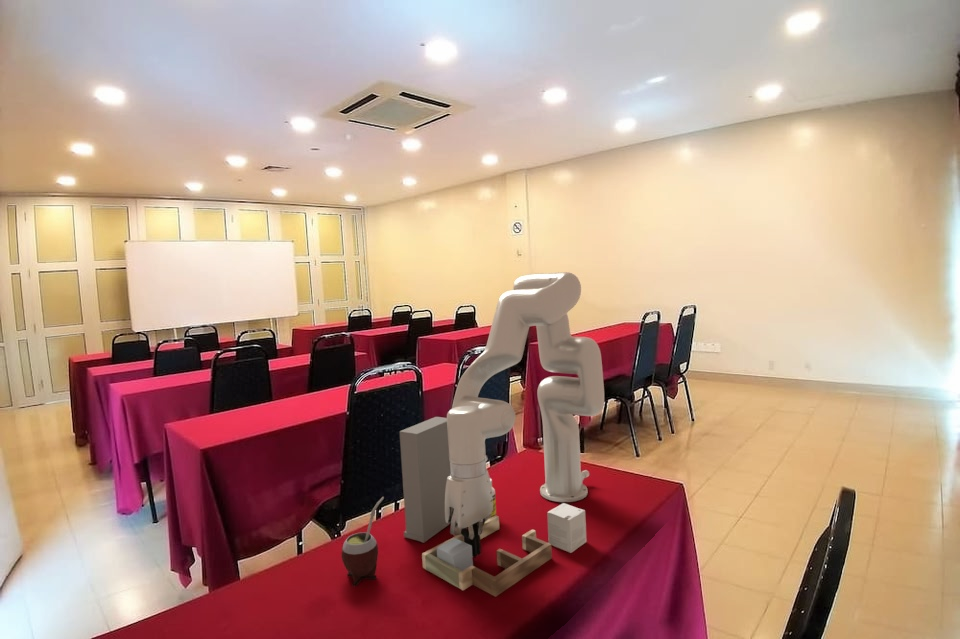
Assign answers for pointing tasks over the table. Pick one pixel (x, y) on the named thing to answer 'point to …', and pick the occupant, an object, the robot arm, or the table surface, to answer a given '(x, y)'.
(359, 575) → the mate gourd
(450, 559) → the block
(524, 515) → the table surface
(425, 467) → the tall upright grey box
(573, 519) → the skincare box
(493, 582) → the box
